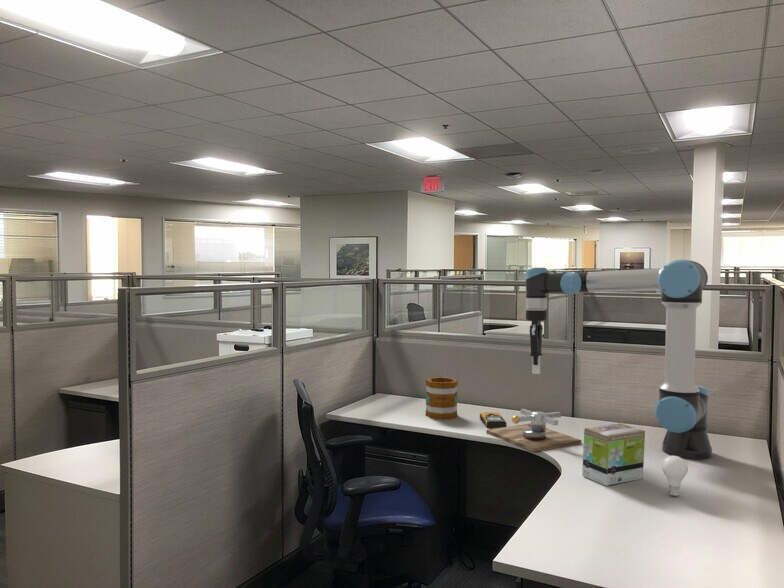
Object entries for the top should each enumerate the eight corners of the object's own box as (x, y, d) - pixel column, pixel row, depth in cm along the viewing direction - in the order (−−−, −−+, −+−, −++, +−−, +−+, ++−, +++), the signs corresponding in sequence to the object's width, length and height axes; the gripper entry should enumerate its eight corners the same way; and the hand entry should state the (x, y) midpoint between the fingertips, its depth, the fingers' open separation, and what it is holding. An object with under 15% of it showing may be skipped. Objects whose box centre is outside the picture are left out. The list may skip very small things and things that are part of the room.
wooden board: (581, 443, 212) (581, 439, 212) (533, 451, 202) (533, 447, 202) (531, 426, 235) (531, 422, 235) (486, 433, 225) (486, 429, 225)
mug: (459, 419, 244) (459, 383, 244) (426, 419, 245) (426, 383, 244) (454, 408, 264) (455, 374, 263) (424, 408, 264) (424, 374, 264)
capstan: (542, 426, 228) (542, 405, 228) (577, 440, 211) (577, 416, 211) (496, 432, 220) (497, 410, 219) (529, 446, 202) (529, 422, 202)
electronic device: (498, 419, 248) (499, 411, 248) (507, 429, 232) (507, 420, 232) (478, 419, 247) (478, 411, 247) (485, 429, 232) (486, 420, 232)
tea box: (607, 487, 169) (608, 435, 169) (581, 476, 178) (582, 427, 178) (644, 479, 176) (645, 429, 176) (617, 469, 185) (618, 421, 185)
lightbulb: (685, 502, 159) (686, 461, 158) (659, 497, 162) (660, 457, 162) (688, 494, 164) (689, 455, 164) (662, 490, 168) (664, 451, 167)
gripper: (529, 308, 227) (529, 370, 228) (522, 310, 215) (522, 375, 216) (549, 308, 224) (549, 371, 225) (543, 310, 212) (543, 376, 213)
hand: (536, 373), depth 221 cm, fingers closed
